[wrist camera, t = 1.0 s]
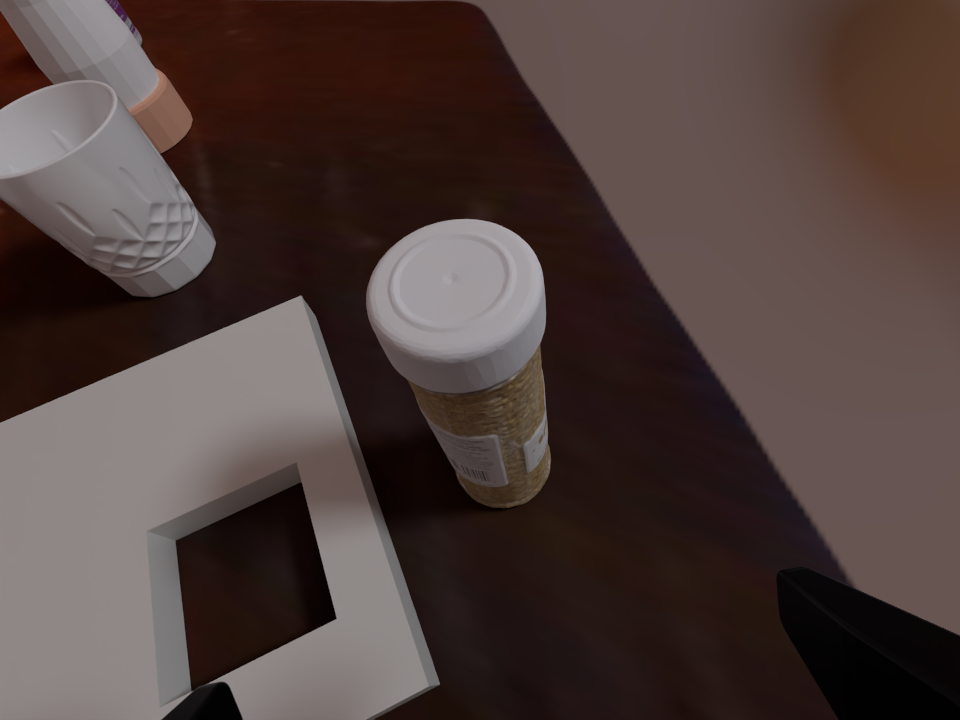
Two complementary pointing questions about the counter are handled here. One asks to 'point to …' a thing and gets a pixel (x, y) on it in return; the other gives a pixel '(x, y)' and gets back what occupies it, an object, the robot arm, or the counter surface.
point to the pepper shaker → (100, 60)
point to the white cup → (101, 187)
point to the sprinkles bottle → (470, 350)
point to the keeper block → (181, 511)
